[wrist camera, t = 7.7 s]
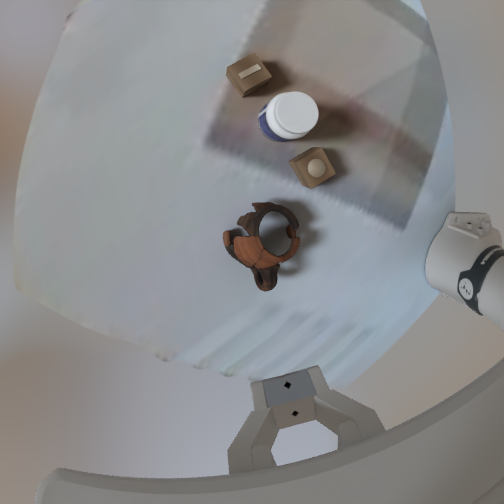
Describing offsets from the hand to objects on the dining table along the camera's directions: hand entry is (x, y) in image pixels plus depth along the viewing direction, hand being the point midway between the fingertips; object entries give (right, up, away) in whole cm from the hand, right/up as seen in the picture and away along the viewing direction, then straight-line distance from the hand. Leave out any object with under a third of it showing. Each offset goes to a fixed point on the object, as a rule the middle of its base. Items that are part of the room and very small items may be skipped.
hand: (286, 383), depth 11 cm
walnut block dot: (+6, +18, +27) cm, 33 cm away
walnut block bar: (-2, +29, +22) cm, 36 cm away
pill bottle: (+2, +23, +24) cm, 34 cm away
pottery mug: (-1, +7, +30) cm, 31 cm away
